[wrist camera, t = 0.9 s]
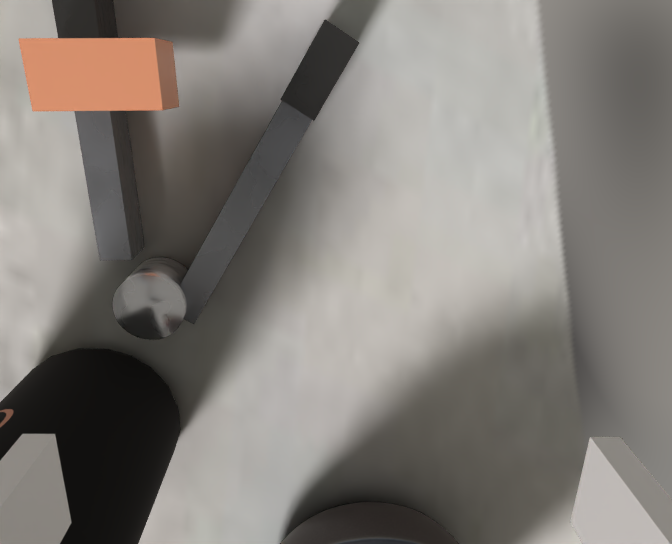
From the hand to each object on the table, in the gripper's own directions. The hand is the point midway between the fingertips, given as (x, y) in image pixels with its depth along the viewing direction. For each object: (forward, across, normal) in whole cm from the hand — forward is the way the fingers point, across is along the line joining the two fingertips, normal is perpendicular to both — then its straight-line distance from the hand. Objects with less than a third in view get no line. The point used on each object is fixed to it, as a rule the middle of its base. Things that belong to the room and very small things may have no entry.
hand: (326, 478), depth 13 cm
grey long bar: (+21, -5, +4) cm, 22 cm away
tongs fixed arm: (+21, -12, +7) cm, 25 cm away
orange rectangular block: (+18, -10, +9) cm, 22 cm away
